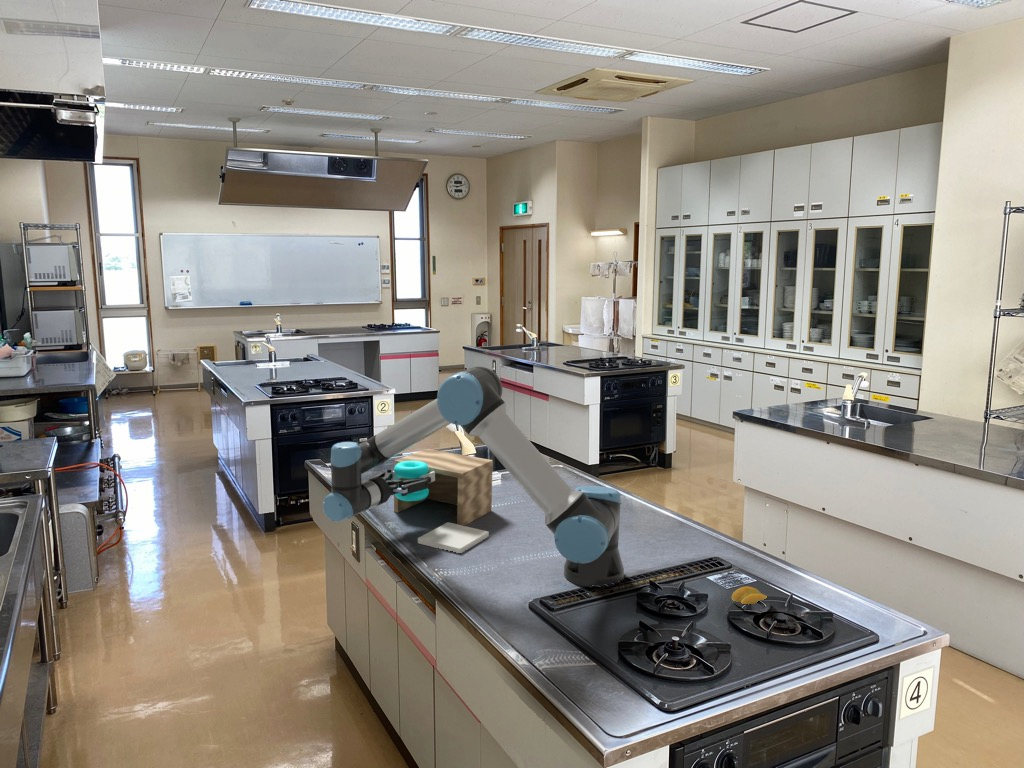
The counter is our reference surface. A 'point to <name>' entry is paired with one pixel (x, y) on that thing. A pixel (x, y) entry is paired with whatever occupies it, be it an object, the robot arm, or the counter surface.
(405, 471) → the donuts
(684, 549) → the counter surface
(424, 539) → the platter
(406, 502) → the tunnel
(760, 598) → the bread roll
